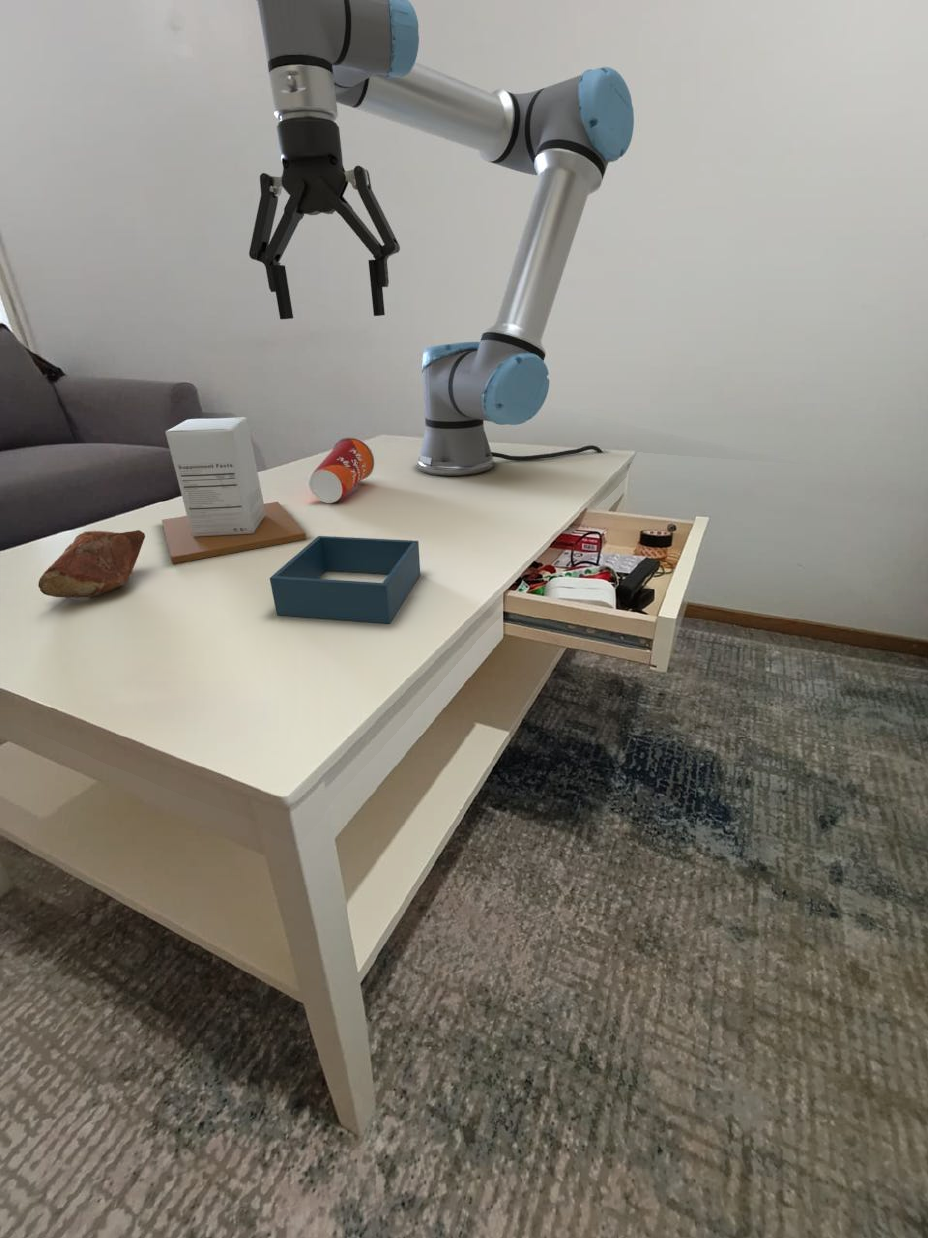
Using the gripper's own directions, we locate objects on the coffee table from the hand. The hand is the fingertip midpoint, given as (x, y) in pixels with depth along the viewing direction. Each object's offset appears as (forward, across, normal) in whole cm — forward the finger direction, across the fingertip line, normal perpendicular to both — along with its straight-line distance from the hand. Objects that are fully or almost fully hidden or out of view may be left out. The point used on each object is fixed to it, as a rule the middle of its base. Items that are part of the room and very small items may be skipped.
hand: (332, 317), depth 82 cm
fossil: (+28, -22, -31) cm, 47 cm away
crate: (+28, +9, -29) cm, 41 cm away
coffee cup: (+25, -7, +4) cm, 27 cm away
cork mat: (+28, -16, -11) cm, 34 cm away
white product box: (+27, -16, -11) cm, 34 cm away
